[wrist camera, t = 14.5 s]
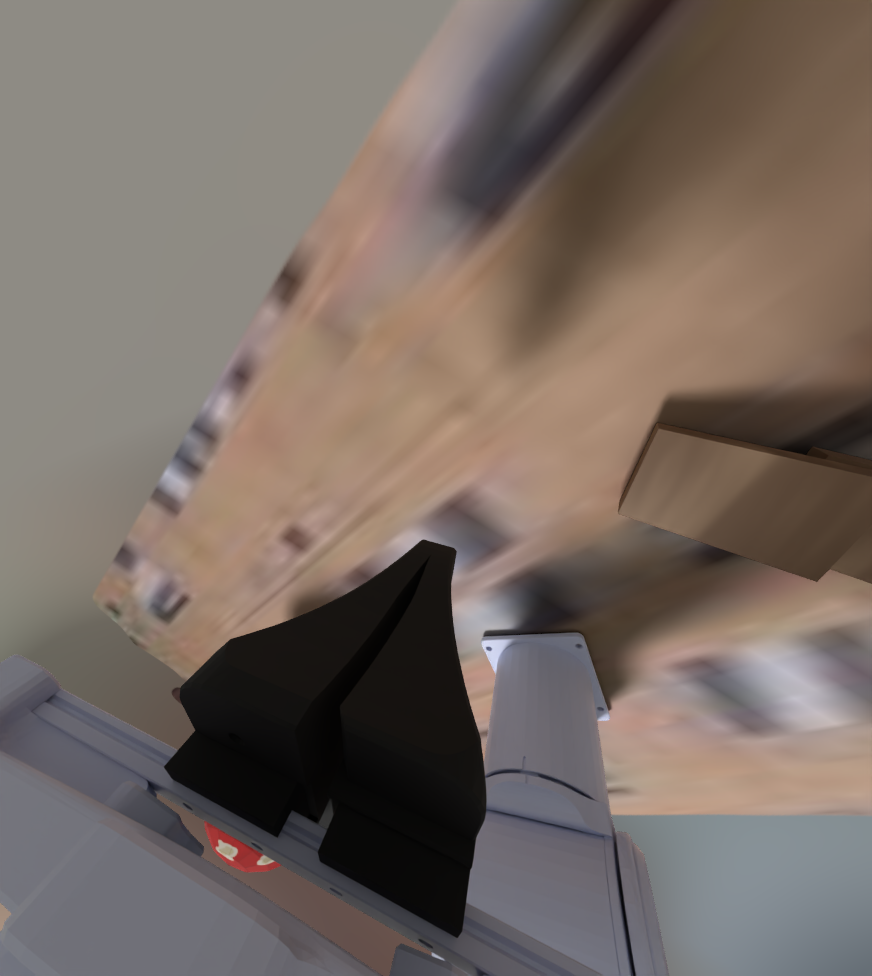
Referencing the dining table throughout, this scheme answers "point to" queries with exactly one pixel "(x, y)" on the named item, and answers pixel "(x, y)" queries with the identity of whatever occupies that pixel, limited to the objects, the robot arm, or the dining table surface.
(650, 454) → the domino
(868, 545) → the domino
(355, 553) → the dining table surface
